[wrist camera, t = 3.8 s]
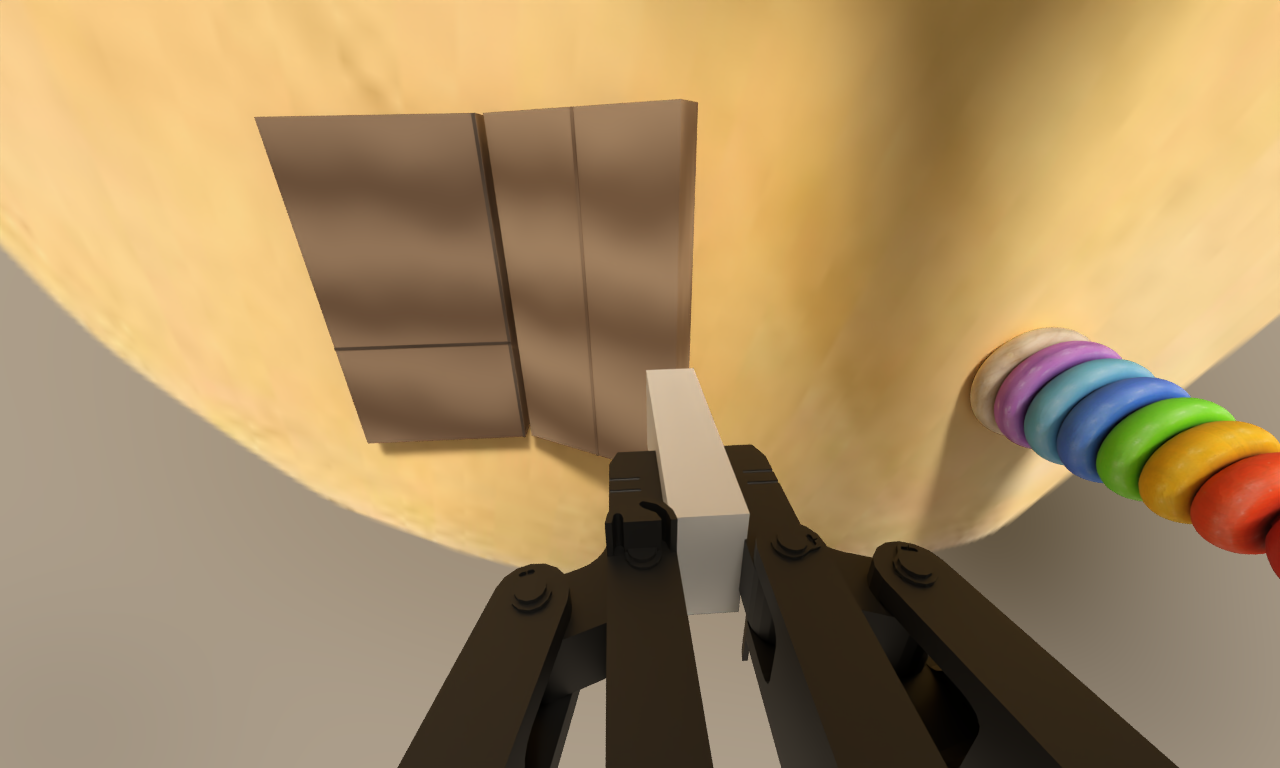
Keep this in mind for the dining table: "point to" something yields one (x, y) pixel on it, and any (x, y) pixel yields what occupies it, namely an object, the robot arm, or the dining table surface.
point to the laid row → (406, 268)
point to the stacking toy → (1135, 436)
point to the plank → (597, 259)
